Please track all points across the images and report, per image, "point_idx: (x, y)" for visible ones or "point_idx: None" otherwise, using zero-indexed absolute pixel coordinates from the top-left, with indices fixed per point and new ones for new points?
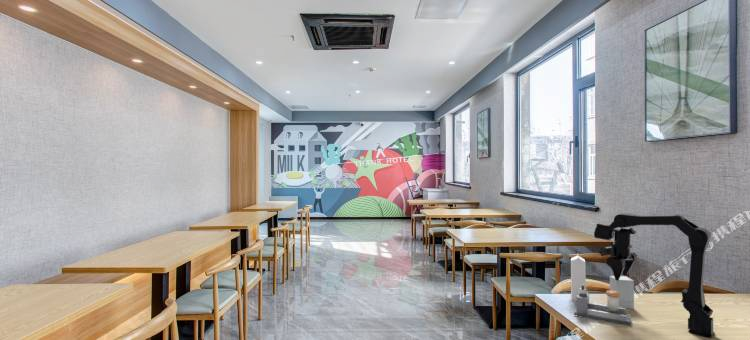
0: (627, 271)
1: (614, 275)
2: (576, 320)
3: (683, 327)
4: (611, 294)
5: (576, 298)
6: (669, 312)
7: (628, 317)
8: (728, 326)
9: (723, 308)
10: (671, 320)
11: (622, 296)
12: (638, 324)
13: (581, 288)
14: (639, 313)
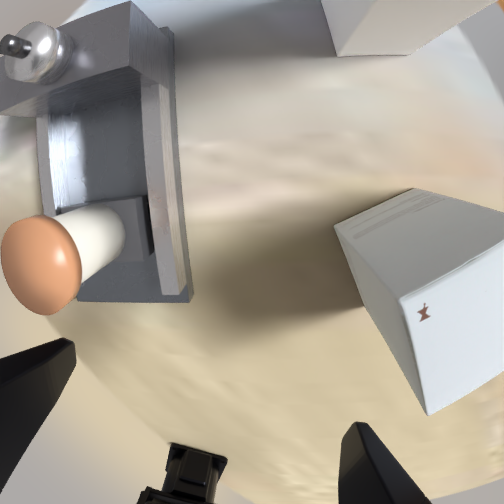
0: (341, 500)
1: (11, 359)
2: None
3: (214, 440)
4: (5, 259)
5: (326, 6)
6: (376, 414)
7: (129, 294)
8: (308, 500)
9: (458, 477)
10: (272, 422)
11: (362, 281)
12: (126, 321)
13: (38, 33)
14: (296, 330)
